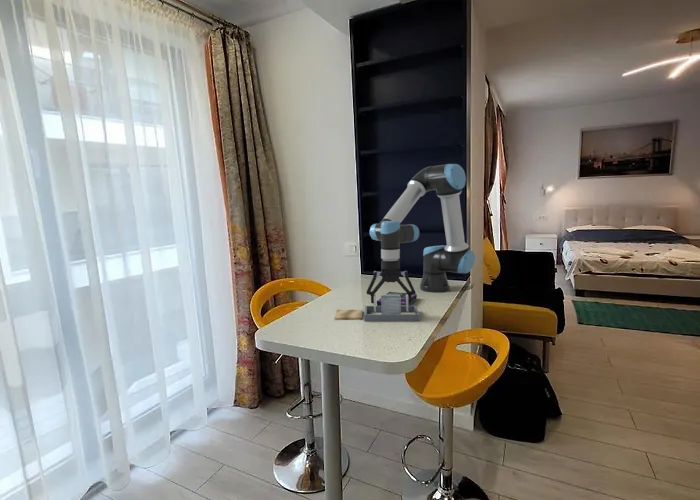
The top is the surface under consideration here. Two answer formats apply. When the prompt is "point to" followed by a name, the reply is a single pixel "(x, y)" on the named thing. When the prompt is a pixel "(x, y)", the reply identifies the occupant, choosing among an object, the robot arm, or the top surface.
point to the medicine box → (391, 304)
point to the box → (403, 298)
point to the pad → (348, 315)
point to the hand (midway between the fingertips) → (391, 310)
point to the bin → (391, 316)
